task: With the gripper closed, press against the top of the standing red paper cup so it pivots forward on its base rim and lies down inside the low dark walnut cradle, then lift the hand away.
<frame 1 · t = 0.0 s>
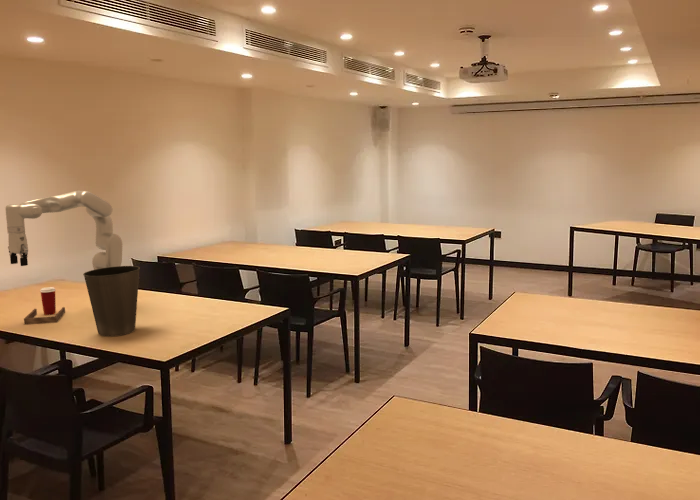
hand: (19, 264, 294), 31 cm above the table, tool pointing down, fingers open, 9 cm apart
u rest: (45, 318, 314), on the table
waste basket: (116, 332, 288), on the table
paper cup: (49, 314, 323), on the table
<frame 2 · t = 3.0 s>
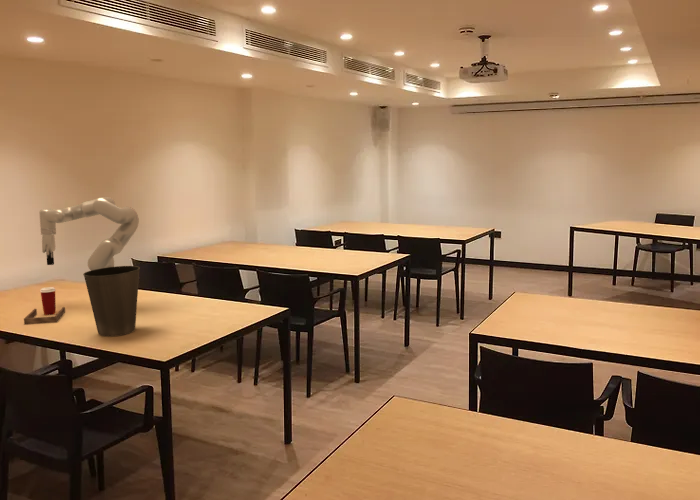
hand: (50, 264, 331), 25 cm above the table, tool pointing down, fingers closed
nothing on the table moved.
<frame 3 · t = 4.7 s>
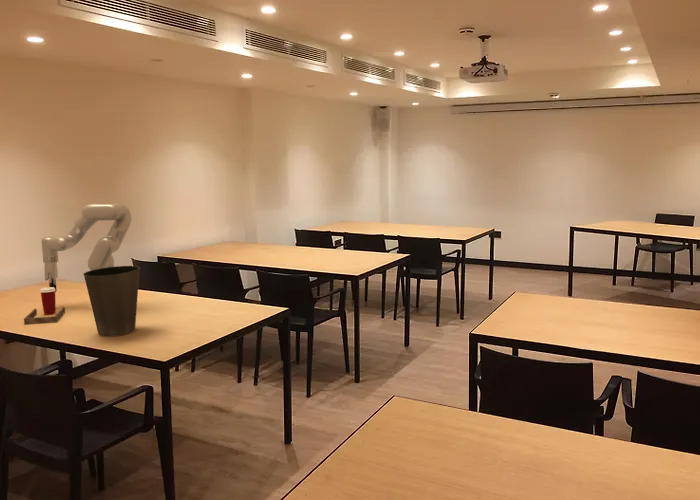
hand: (53, 291, 333), 10 cm above the table, tool pointing down, fingers closed
nothing on the table moved.
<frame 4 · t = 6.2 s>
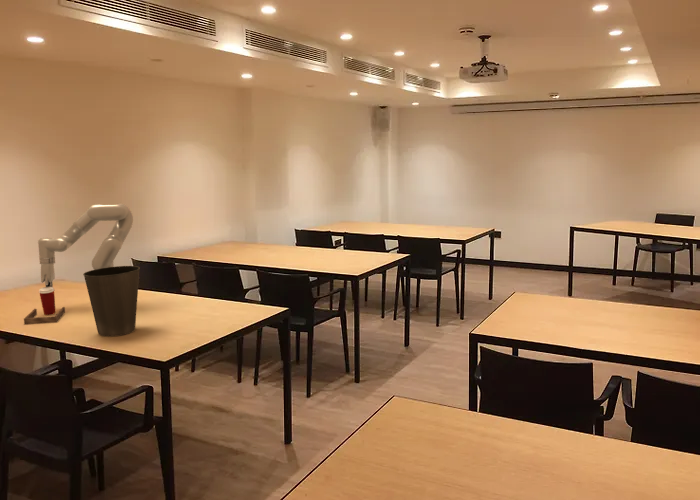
hand: (49, 294, 326), 10 cm above the table, tool pointing down, fingers closed
paper cup: (49, 313, 323), on the table, touching gripper
everything else where it was.
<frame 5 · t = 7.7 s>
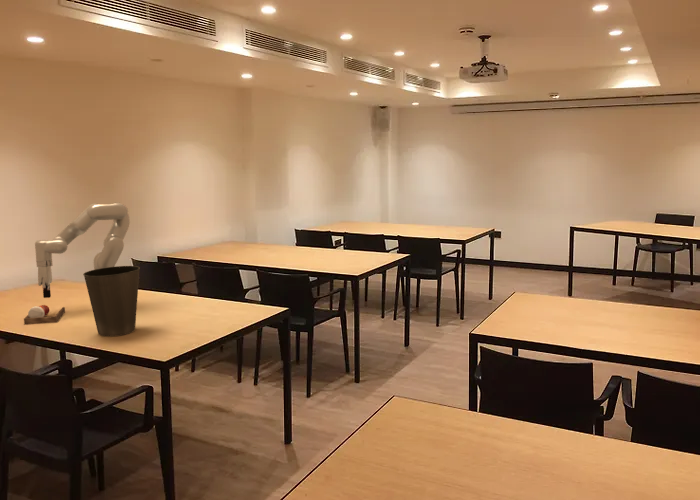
hand: (47, 297, 319), 10 cm above the table, tool pointing down, fingers closed
paper cup: (43, 310, 320), point 3 cm above the table
everything else where it was.
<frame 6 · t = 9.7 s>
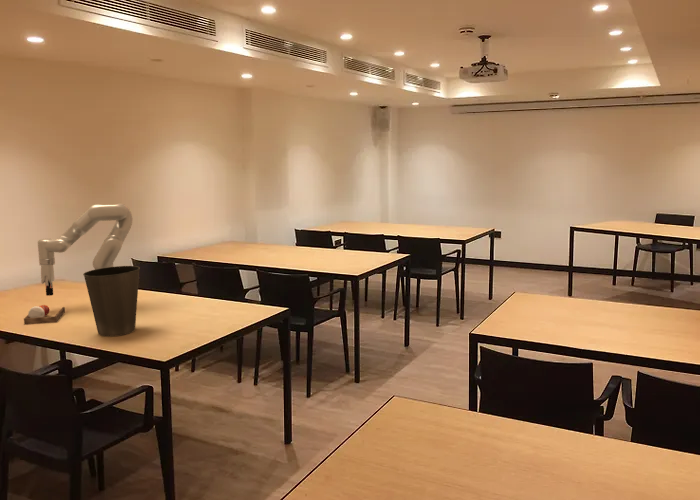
hand: (49, 295, 325), 10 cm above the table, tool pointing down, fingers closed
nothing on the table moved.
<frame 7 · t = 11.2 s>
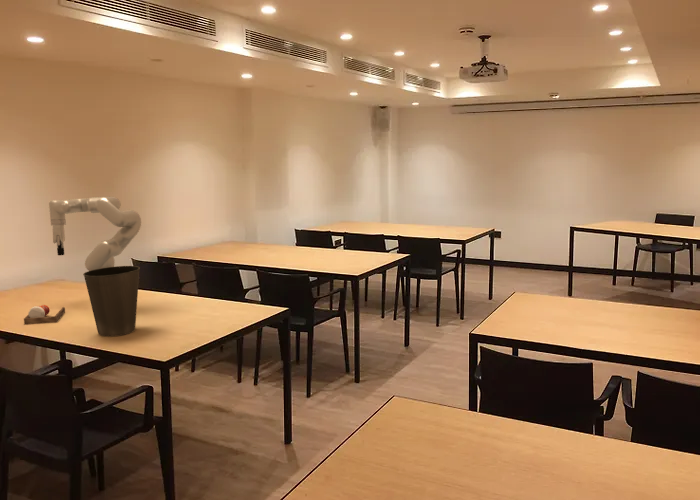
hand: (61, 255, 335), 30 cm above the table, tool pointing down, fingers closed
nothing on the table moved.
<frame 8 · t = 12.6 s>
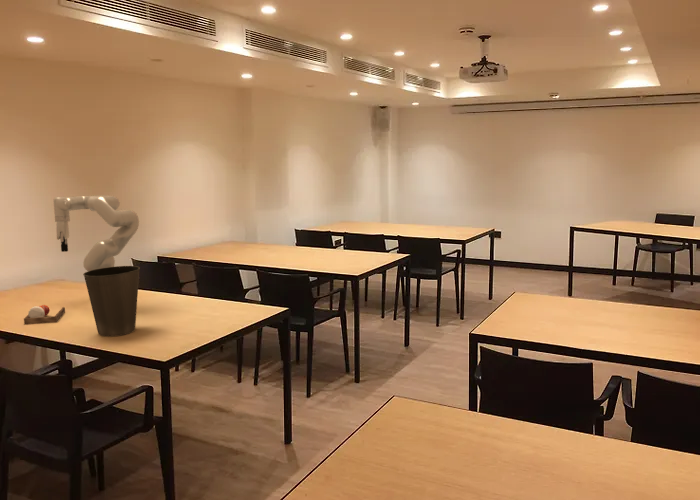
hand: (64, 251, 338), 31 cm above the table, tool pointing down, fingers closed
nothing on the table moved.
at the end: paper cup tilted 84°; paper cup inside the target area on the u rest (6.6 cm from its centre), point 2.8 cm above the u rest's base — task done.
